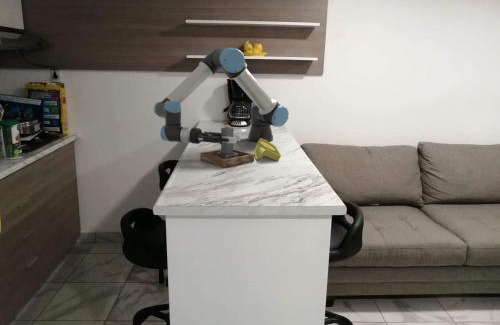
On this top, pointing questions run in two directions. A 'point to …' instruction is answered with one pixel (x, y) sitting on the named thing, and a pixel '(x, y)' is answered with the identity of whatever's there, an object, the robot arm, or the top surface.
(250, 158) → the box
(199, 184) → the top surface
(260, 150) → the plastic component
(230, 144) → the grey tall block
